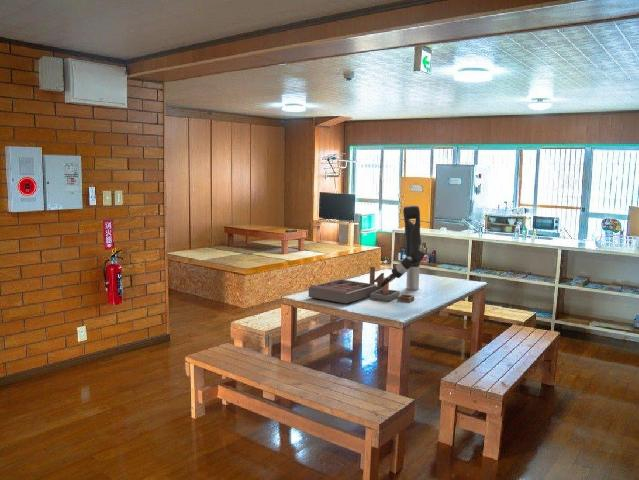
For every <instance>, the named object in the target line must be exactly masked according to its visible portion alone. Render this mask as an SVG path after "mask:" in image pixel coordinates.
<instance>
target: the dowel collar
mask: <svg viewBox="0 0 639 480" xmlns="http://www.w3.org/2000/svg"><path fill="white" fill-rule="evenodd" d="M414 300H415V295H412V294H405V293H404V294H402V293H401V294H400V296H398V298H397V302H404V303H411V302H413V301H414Z"/></svg>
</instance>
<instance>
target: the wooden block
mask: <svg viewBox="0 0 639 480" xmlns="http://www.w3.org/2000/svg"><path fill="white" fill-rule="evenodd" d="M375 274H376V266H372V265H370V266H369V284H376V285H377V286H376V291H377V290H379V289H383V287H381V284H382V283H383V278H384V277H385V272H382V273H380V274H379V275H378V276H377V277H376V278H375V276H376V275H375Z"/></svg>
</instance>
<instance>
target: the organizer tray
mask: <svg viewBox="0 0 639 480" xmlns="http://www.w3.org/2000/svg"><path fill="white" fill-rule="evenodd" d="M376 286H377V283H375V284H370V282H369V283H367V282H360V281H354V280H347V279H336V280H332V281H329V282H323V283H320V284H309V286H308V287H307V288H308V297H309V298H312V299H313V298H314V299H320V300H323V301H328V302H330V301H331V302H336V303H342V304H348V303H349V304H350V303H352V302H355V301H359V300H362V299H364V298H369V297H370V294H371V293H373V292H375V291H376Z"/></svg>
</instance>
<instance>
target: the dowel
mask: <svg viewBox="0 0 639 480" xmlns="http://www.w3.org/2000/svg"><path fill="white" fill-rule="evenodd" d="M387 277H388V276H387ZM387 277H385V276H384V278H383V282H384V280H385V279H386V278H387ZM386 282H387V281H386ZM389 287H390V282H388V283H387V284H386V285H384V286H383V293H382V295H388V290H390V289H389Z"/></svg>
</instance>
